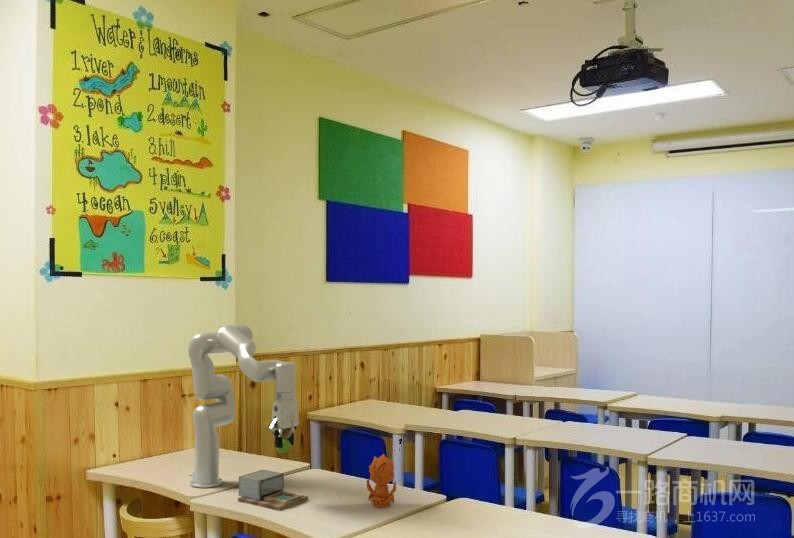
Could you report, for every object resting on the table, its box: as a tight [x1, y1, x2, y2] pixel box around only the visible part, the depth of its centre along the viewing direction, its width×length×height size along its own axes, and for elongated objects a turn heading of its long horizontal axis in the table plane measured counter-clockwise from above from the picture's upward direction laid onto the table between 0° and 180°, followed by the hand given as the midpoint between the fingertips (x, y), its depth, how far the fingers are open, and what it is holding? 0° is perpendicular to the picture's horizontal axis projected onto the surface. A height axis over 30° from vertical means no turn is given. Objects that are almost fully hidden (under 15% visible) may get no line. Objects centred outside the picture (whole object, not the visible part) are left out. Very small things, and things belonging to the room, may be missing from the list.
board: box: [237, 490, 309, 511], centre depth 270 cm, size 20×16×2 cm
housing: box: [238, 469, 285, 501], centre depth 273 cm, size 10×13×7 cm
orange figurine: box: [366, 453, 397, 509], centre depth 266 cm, size 11×11×18 cm
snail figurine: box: [275, 421, 294, 455], centre depth 268 cm, size 5×6×12 cm
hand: (284, 445), depth 268 cm, fingers closed on snail figurine, 5 cm apart
